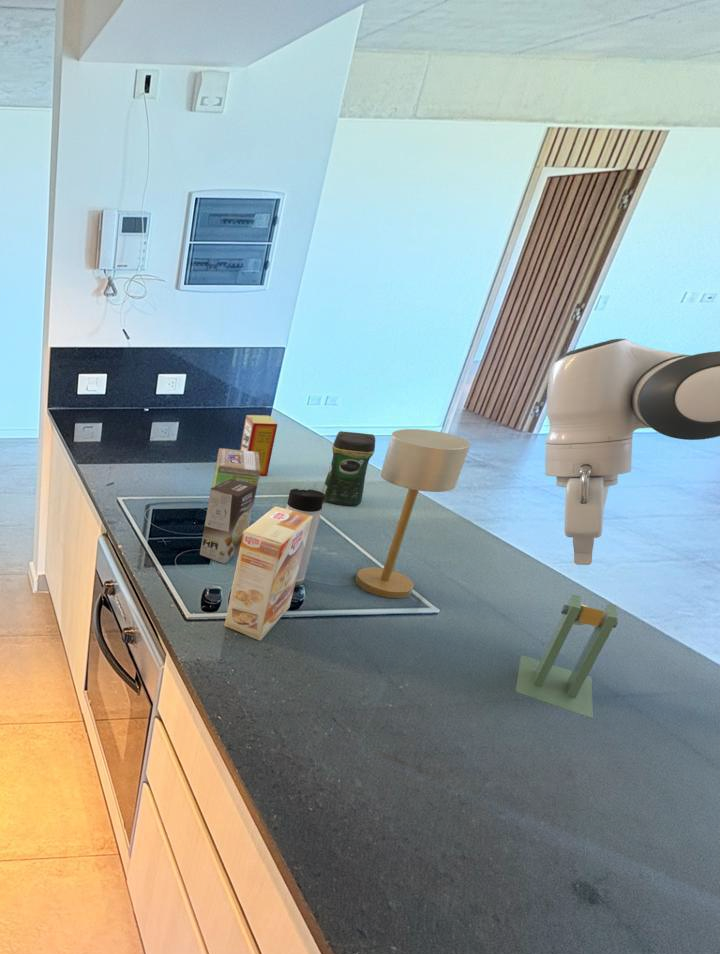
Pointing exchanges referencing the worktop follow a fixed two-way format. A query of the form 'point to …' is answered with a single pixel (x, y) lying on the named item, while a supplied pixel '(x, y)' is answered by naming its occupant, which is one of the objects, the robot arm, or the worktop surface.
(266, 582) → the coffeecake box
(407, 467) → the table lamp
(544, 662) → the green post frame stand
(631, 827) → the worktop surface
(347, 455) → the coffee jar
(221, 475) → the tea box
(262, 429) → the baking soda box
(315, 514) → the travel mug
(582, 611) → the lever
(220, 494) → the coffee box
